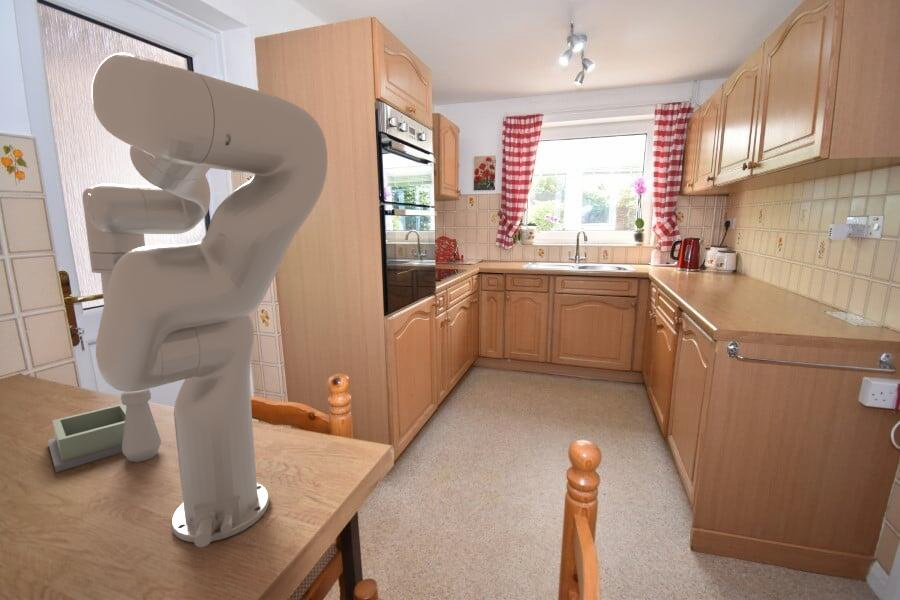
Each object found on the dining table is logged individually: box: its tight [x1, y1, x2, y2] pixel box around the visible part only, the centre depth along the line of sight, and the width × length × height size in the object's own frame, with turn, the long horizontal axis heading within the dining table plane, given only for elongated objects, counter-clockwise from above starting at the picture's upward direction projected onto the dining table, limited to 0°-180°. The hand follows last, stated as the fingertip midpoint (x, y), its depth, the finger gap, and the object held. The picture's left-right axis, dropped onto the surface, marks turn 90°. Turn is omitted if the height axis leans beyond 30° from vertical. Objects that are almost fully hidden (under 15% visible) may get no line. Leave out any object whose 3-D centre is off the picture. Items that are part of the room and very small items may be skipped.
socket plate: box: [47, 403, 127, 473], centre depth 80 cm, size 13×13×5 cm
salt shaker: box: [120, 388, 162, 463], centre depth 76 cm, size 6×6×13 cm
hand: (130, 358), depth 74 cm, fingers open, 9 cm apart
